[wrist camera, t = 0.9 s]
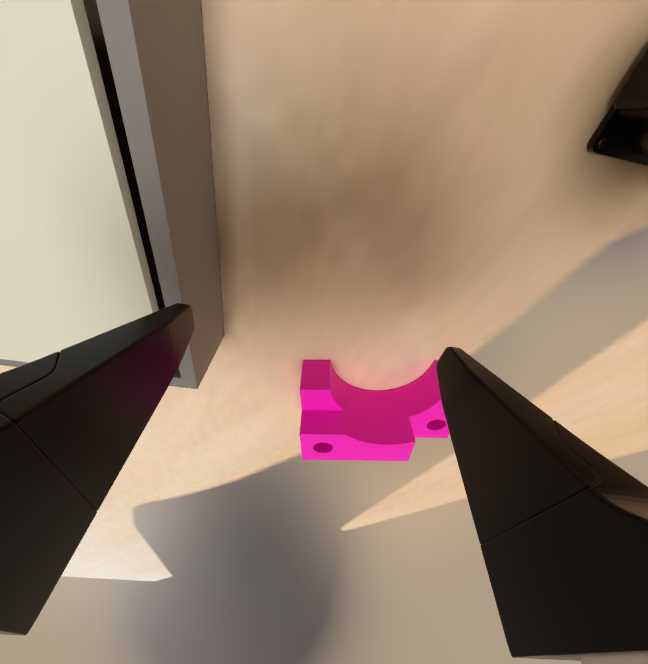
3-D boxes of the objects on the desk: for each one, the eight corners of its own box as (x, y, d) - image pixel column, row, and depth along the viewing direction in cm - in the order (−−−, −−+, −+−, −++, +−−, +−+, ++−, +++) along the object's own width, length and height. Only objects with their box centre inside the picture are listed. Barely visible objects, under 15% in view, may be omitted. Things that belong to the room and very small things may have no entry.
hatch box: (199, -23, 12) (105, -130, 7) (224, 335, 25) (197, 389, 20) (-158, -116, 11) (-594, -333, 6) (62, 312, 23) (-12, 363, 18)
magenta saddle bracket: (302, 459, 26) (297, 413, 22) (306, 406, 31) (303, 360, 27) (456, 461, 26) (483, 415, 21) (435, 407, 31) (454, 360, 26)
